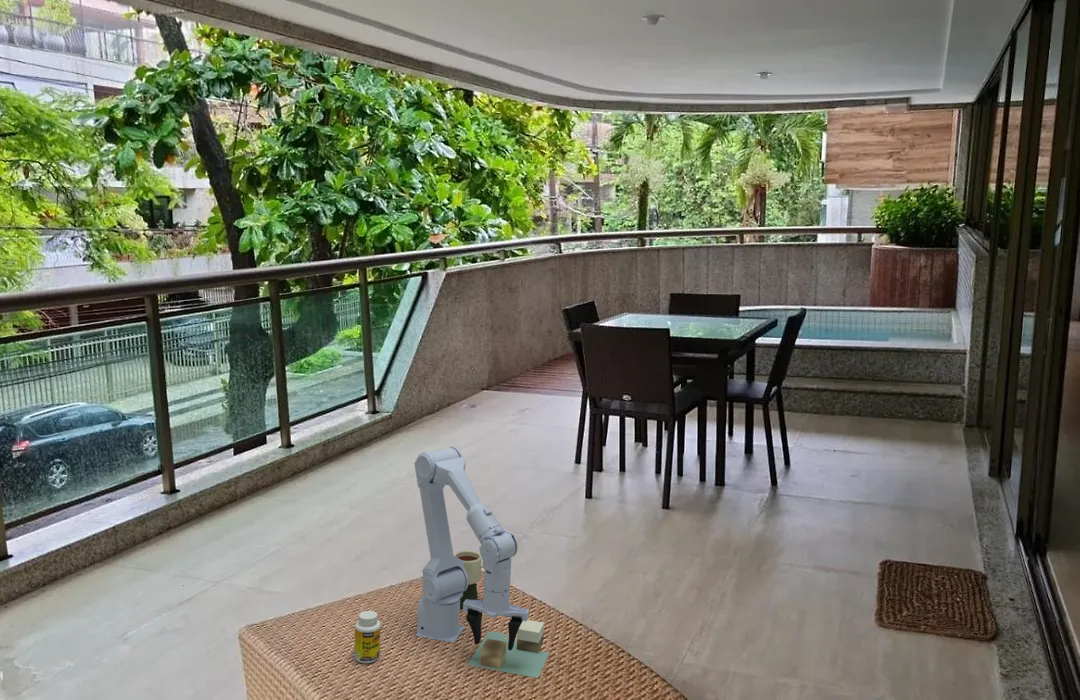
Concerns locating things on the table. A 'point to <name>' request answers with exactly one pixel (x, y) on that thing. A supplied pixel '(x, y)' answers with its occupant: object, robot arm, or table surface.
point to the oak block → (493, 653)
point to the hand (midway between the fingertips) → (494, 645)
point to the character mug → (471, 573)
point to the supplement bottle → (367, 637)
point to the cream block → (530, 631)
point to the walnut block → (529, 645)
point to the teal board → (513, 658)
